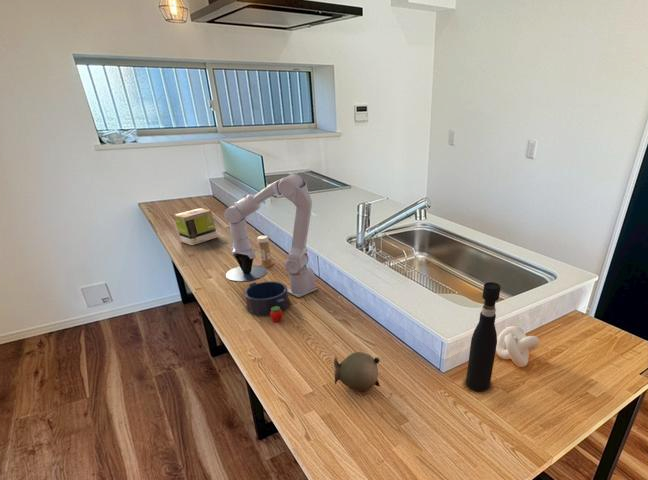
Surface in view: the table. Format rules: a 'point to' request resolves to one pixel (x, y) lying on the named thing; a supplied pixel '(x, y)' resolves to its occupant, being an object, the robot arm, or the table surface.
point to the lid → (246, 274)
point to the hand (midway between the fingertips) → (246, 270)
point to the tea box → (195, 226)
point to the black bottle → (483, 342)
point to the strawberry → (276, 314)
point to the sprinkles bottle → (264, 251)
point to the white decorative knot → (516, 345)
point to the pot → (266, 297)
